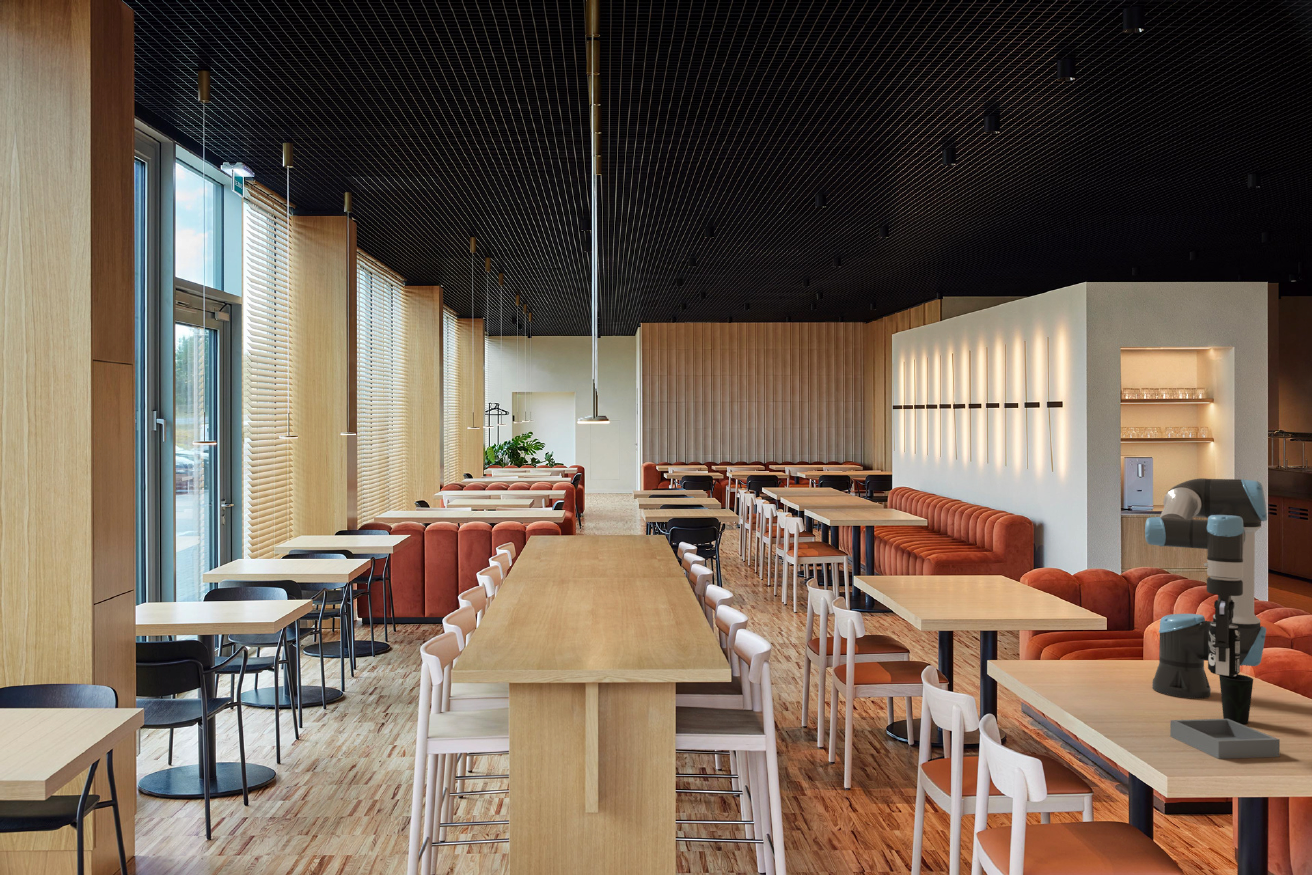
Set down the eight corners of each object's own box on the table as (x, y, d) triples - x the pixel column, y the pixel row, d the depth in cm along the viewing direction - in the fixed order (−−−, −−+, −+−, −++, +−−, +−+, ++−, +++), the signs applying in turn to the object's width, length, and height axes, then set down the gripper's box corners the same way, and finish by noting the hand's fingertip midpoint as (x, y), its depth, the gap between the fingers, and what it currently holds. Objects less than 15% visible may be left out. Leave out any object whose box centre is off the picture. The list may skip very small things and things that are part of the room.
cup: (1242, 727, 231) (1242, 681, 231) (1212, 719, 238) (1213, 674, 238) (1259, 723, 235) (1259, 678, 235) (1229, 715, 242) (1229, 671, 242)
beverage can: (1201, 670, 219) (1202, 622, 220) (1226, 669, 220) (1226, 621, 220) (1220, 676, 213) (1221, 627, 213) (1246, 676, 213) (1246, 627, 214)
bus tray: (1227, 734, 225) (1227, 718, 225) (1279, 756, 209) (1279, 739, 209) (1170, 736, 223) (1170, 720, 223) (1218, 758, 207) (1218, 741, 207)
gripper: (1211, 572, 227) (1210, 661, 226) (1202, 580, 211) (1201, 676, 211) (1246, 575, 222) (1245, 666, 222) (1239, 584, 207) (1238, 682, 206)
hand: (1223, 671), depth 216 cm, fingers closed on beverage can, 7 cm apart
